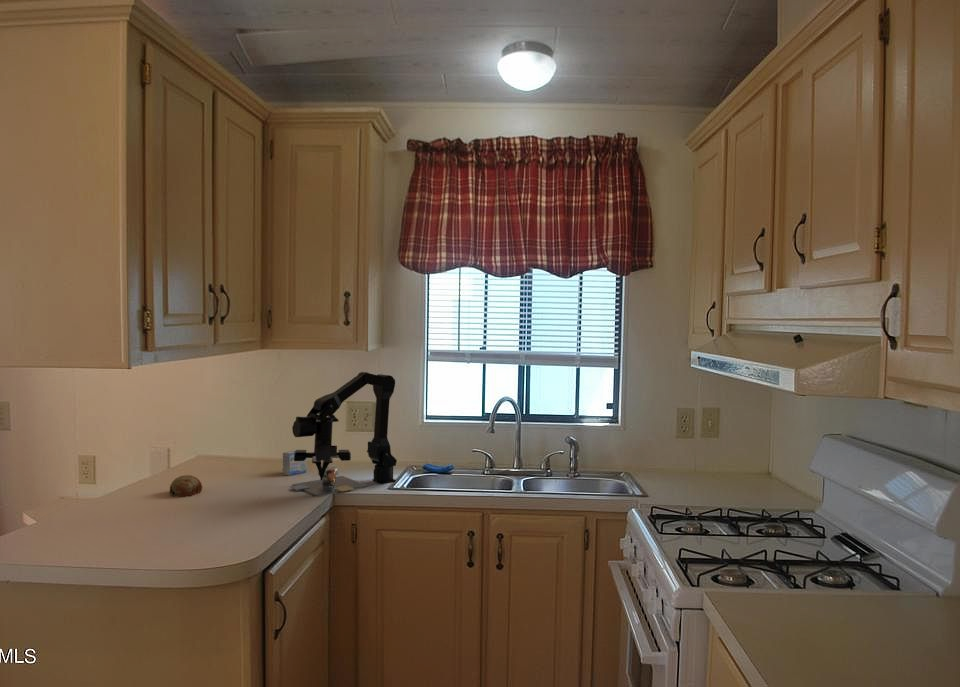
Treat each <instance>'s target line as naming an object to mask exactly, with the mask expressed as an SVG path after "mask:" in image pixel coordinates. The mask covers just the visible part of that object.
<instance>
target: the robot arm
mask: <svg viewBox="0 0 960 687" xmlns="http://www.w3.org/2000/svg"><path fill="white" fill-rule="evenodd" d="M366 385H371V386H372V392H373V393H374V396H375V399H376V400H375V413H374V416H375V418H374V429H373V430H374V431H373V432H374V433H373V437H372V440H371V441H367V450H366V453H367V456H368V458H370V460H371V464H374V469H373V478H372V480H371V481H372V482H375V483H377V484H381V485H383V484H387V483H392V482H393V483H394V482H396V479H394V467H396V465H397V459H396V458H395V456H394V455H393V454H392V450H391V444H390V442H389V441H390V440H389V439H388V433H389V432H388V431H389V415H390V399H391V398H392V396H393V395H394V393H395V387H396V379H395V378H394V377H393V376H392V375H390V374H389V375H388V374H383V373H382V374H381V373H380V374H374V373H370V372H368V371H367V372H366V371H360V372H359V373H358V374H357V375H356V376H354V377H353V378H352V379H350V380H349V381H347V382H346V383H345V384H343V385H342V386H341V387H339V388H338V389H337V390H335V391H333V392H331V393H328V394H325V395H323V396H321V397H319V398H317V399H316V400H315V401H314V402H313V406H312V408H311V409H310V411H309V412H308V413H307V415H306V416H296V417H295V421H294V422H293V425H292V428H291V430H292V434H293V436H294V438H305V437H307V438H308V437H313V436H314V444H313V445H314V446H313V448H314V450H313V452H311V451H310V452H307V449H295V450H296V451H295V450H294V451H295V452H294V461H304V460H305V459H306V460H307V459H311V462H312V464H315V465H316V468H317V471H319V475H320V476H319V475H318V476H319V478H320V479H319V480H322V479H323V476H324V473H325V470H326V468H327V467H329V465H330V464H332V463H333V459H335V458H336V459H339V460H340V461H342V462H343V461H344V462H346V461H347V462H348V461H351V458H352V457H351V456H352V453H351V451H350V450H349V449H338V446H337V445H333V444H332V443H333V440H332V439H333V423H338V422H339V419H338V417H336V416H335V415H336V414H335V413H336V412H337V411H338V410H339V409H340V407H341V406H342V403H344V402H345V401H346V400H347V399H349V398H350V397H351V396H353V395H354V394H355V393H357V392H359V390H361V389H362V388H363V387H365V386H366Z"/></svg>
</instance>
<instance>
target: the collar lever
mask: <svg viewBox="0 0 960 687" xmlns="http://www.w3.org/2000/svg"><path fill="white" fill-rule="evenodd" d="M317 471H318V470H317ZM317 475H318V476H319V477H320V475H319V471H318V472H317ZM337 476H339V467H338V466H337V467H336V466H327V468H326V470H325V473H324V477H327V482H328V483H333V482H336V477H337Z"/></svg>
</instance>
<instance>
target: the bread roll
mask: <svg viewBox="0 0 960 687" xmlns="http://www.w3.org/2000/svg"><path fill="white" fill-rule="evenodd" d="M202 489H203V484H202V481H201V480H200V479H199V478H198V477H195V476H193V475H188V474H187V475H186V474H185V475H180V476H178V477H176V478H175V479H173V480H172V482H171V483H170V485H169V496H171V497H175V496H179V498H187V497H186V496H188V497H193V496H195V494H196V495H198V493H199V494H200V493H201V492H202ZM192 495H193V496H192Z"/></svg>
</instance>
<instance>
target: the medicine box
mask: <svg viewBox="0 0 960 687" xmlns="http://www.w3.org/2000/svg"><path fill="white" fill-rule="evenodd" d="M296 450H297V449H295V450H289V451H286V452H282V474H283V475H284V476H289V477H292V476H296V475H297V476H298V475H301V474H305V473H307V458H306V459H305V460H304V461H294V452H295V451H296Z"/></svg>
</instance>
